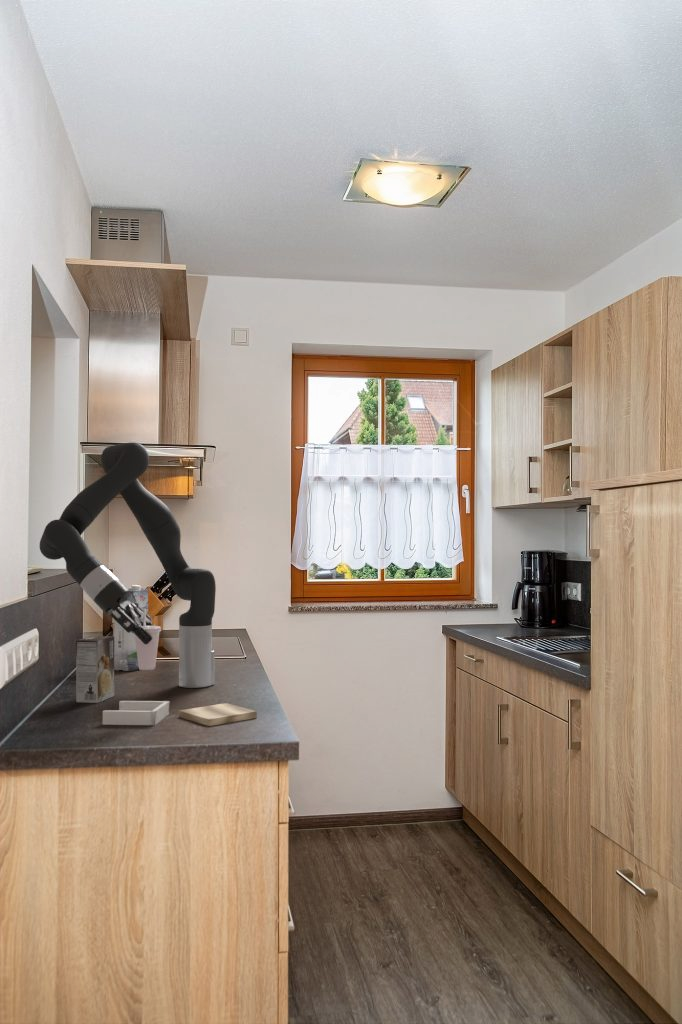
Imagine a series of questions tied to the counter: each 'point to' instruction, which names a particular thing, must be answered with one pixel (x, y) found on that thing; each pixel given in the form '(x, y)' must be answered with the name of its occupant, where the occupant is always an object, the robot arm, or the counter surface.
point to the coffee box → (94, 669)
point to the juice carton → (128, 635)
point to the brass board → (217, 714)
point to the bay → (137, 713)
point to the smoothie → (147, 647)
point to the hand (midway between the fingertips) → (154, 639)
